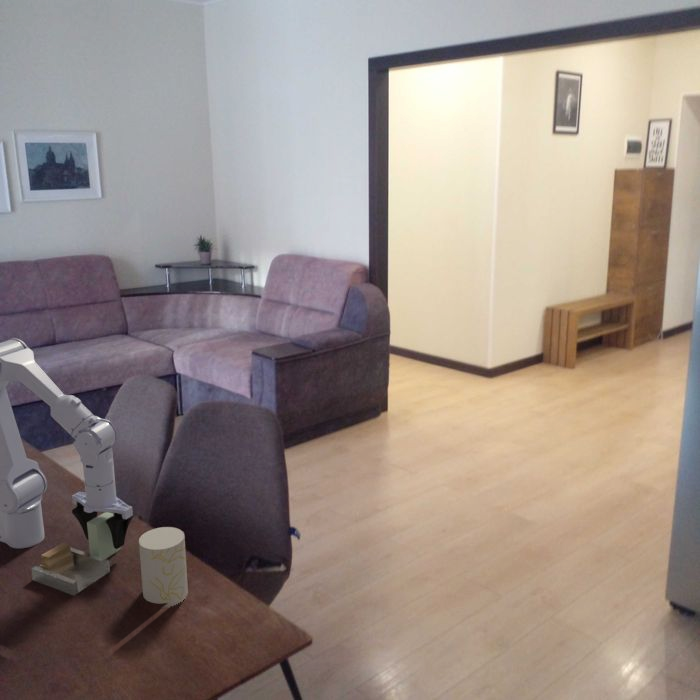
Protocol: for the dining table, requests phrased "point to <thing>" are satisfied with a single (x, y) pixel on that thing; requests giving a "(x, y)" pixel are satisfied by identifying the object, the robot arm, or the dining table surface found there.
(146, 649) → the dining table surface
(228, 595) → the dining table surface
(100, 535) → the sage green tall pillar
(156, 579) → the cup
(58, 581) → the rack
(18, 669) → the dining table surface
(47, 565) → the offcut stack
